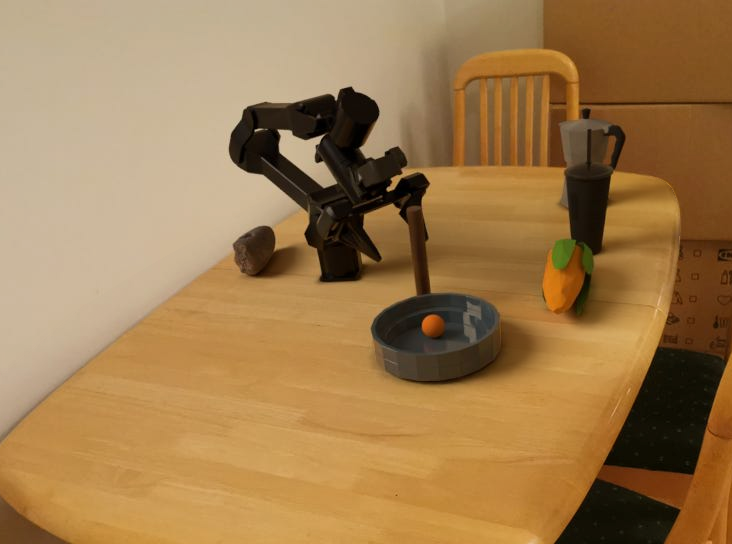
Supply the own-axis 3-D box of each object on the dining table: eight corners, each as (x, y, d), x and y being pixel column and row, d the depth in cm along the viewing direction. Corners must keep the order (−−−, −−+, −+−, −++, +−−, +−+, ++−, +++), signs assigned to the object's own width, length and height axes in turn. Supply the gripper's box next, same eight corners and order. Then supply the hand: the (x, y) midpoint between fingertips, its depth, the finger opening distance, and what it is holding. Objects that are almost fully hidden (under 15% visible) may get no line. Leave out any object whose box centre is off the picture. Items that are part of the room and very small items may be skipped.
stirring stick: (405, 308, 106) (392, 209, 98) (429, 299, 108) (418, 200, 100) (421, 318, 103) (408, 216, 95) (445, 309, 105) (435, 207, 96)
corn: (594, 224, 106) (587, 281, 89) (597, 270, 109) (590, 332, 93) (545, 228, 108) (530, 284, 92) (549, 273, 112) (535, 333, 96)
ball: (441, 312, 94) (436, 309, 97) (420, 323, 94) (416, 319, 97) (450, 333, 95) (445, 329, 98) (430, 343, 95) (425, 339, 98)
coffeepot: (542, 203, 139) (541, 110, 130) (574, 190, 143) (575, 100, 134) (605, 218, 128) (608, 118, 119) (637, 204, 132) (642, 106, 123)
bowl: (364, 385, 89) (359, 356, 87) (387, 321, 103) (383, 294, 101) (499, 383, 86) (497, 352, 83) (503, 318, 100) (501, 290, 98)
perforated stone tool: (263, 248, 136) (255, 215, 132) (288, 248, 135) (281, 214, 131) (231, 281, 124) (222, 245, 120) (258, 281, 122) (249, 244, 119)
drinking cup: (611, 258, 113) (616, 133, 103) (563, 259, 115) (563, 137, 104) (609, 240, 119) (613, 121, 109) (563, 242, 121) (564, 125, 111)
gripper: (313, 150, 94) (373, 243, 92) (415, 117, 103) (472, 202, 101) (293, 196, 103) (348, 282, 101) (389, 163, 113) (440, 241, 111)
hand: (404, 250), depth 103 cm, fingers open, 9 cm apart
